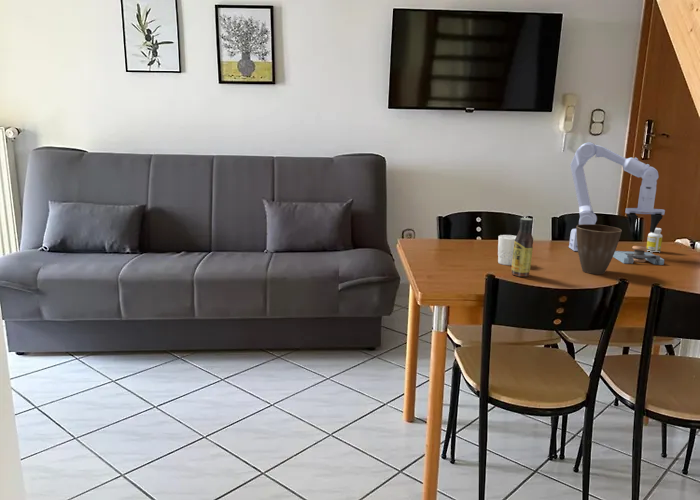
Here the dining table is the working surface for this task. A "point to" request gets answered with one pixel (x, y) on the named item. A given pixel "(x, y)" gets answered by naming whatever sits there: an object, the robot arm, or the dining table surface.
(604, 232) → the plant pot
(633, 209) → the robot arm
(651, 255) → the hook bar
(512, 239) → the white cup
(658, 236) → the supplement bottle
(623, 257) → the notched board
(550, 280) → the dining table surface
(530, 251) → the sauce bottle
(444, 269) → the dining table surface
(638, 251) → the spool
